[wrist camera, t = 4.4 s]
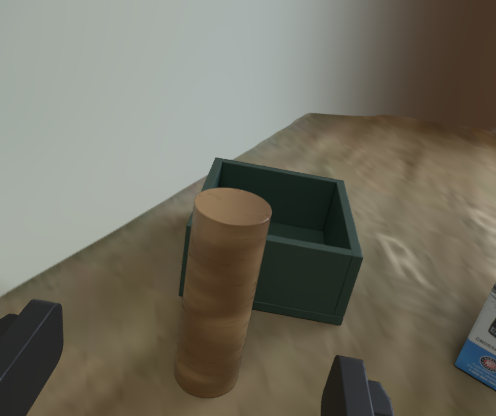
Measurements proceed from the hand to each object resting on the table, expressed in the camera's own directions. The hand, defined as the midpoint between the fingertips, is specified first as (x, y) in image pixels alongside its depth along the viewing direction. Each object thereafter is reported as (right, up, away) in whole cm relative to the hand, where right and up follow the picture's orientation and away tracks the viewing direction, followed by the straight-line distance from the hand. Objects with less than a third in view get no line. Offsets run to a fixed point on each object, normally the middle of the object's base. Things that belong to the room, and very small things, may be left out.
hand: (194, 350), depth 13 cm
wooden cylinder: (-1, -6, +16) cm, 17 cm away
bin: (+3, -1, +28) cm, 28 cm away
